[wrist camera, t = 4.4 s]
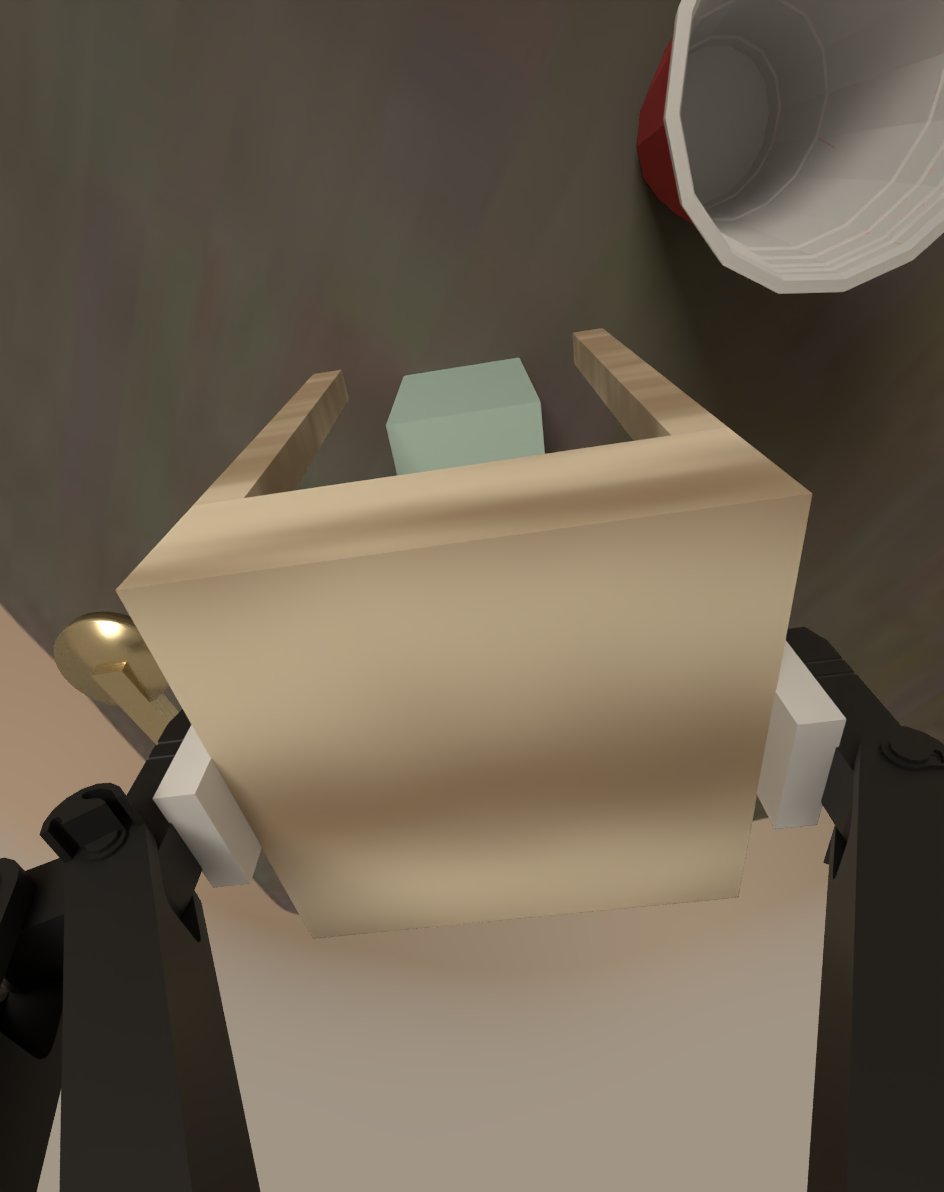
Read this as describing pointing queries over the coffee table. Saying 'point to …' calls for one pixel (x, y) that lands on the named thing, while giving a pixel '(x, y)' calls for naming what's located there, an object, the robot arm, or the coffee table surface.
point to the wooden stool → (487, 661)
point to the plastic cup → (802, 135)
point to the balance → (115, 668)
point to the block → (465, 417)
